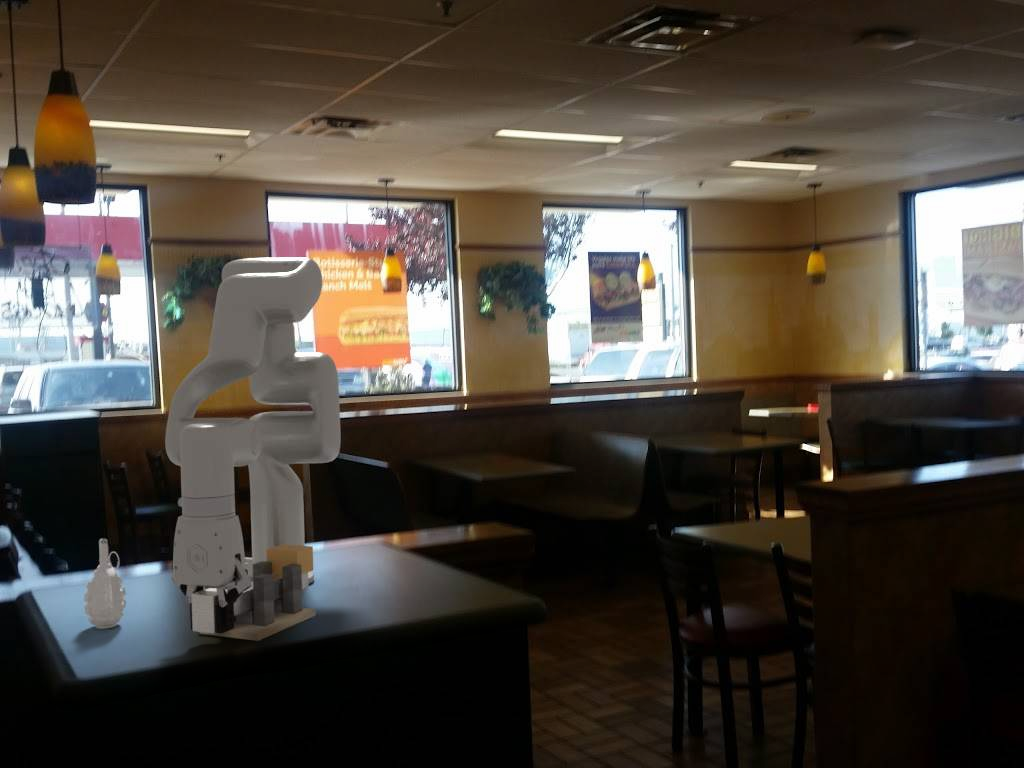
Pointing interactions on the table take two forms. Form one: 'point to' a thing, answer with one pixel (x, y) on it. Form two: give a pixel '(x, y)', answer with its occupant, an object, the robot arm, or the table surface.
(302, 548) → the block
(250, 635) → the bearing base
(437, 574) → the table surface
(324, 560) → the table surface
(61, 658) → the table surface
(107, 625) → the hand grenade
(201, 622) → the block ended bar
